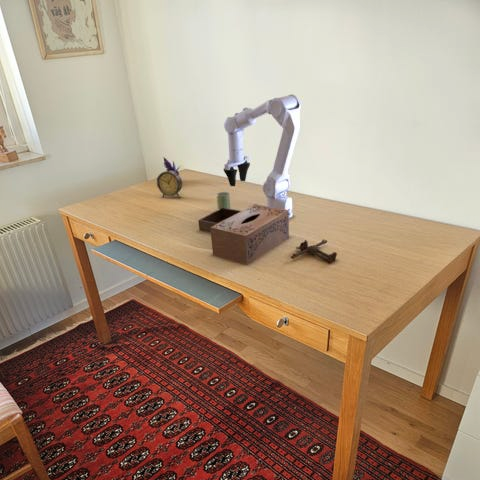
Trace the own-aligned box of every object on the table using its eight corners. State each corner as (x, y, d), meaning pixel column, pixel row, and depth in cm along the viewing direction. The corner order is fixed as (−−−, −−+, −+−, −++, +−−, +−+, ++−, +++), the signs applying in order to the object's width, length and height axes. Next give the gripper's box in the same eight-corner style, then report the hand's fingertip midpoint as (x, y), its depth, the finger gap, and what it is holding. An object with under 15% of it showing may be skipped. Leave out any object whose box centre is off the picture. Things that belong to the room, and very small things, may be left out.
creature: (189, 179, 228) (186, 155, 222) (163, 189, 217) (159, 163, 211) (177, 177, 233) (174, 153, 227) (151, 186, 222) (147, 161, 215)
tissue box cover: (255, 229, 168) (255, 204, 162) (288, 237, 160) (288, 210, 155) (212, 255, 151) (210, 227, 145) (247, 264, 143) (245, 235, 138)
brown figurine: (315, 263, 135) (281, 245, 144) (314, 275, 138) (280, 257, 146) (351, 244, 145) (317, 229, 153) (349, 256, 147) (315, 240, 156)
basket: (252, 224, 173) (252, 212, 170) (230, 238, 162) (229, 226, 160) (222, 218, 180) (221, 207, 177) (199, 231, 169) (198, 220, 167)
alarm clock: (158, 198, 206) (153, 162, 197) (163, 194, 210) (158, 159, 201) (180, 199, 203) (175, 162, 194) (185, 195, 207) (180, 159, 198)
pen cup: (233, 212, 185) (231, 192, 181) (225, 216, 182) (224, 196, 177) (222, 210, 188) (221, 191, 183) (215, 214, 184) (213, 195, 180)
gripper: (237, 144, 183) (239, 177, 190) (217, 152, 173) (219, 187, 180) (252, 145, 179) (253, 179, 187) (232, 153, 169) (234, 189, 177)
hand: (237, 183), depth 183 cm, fingers open, 7 cm apart
